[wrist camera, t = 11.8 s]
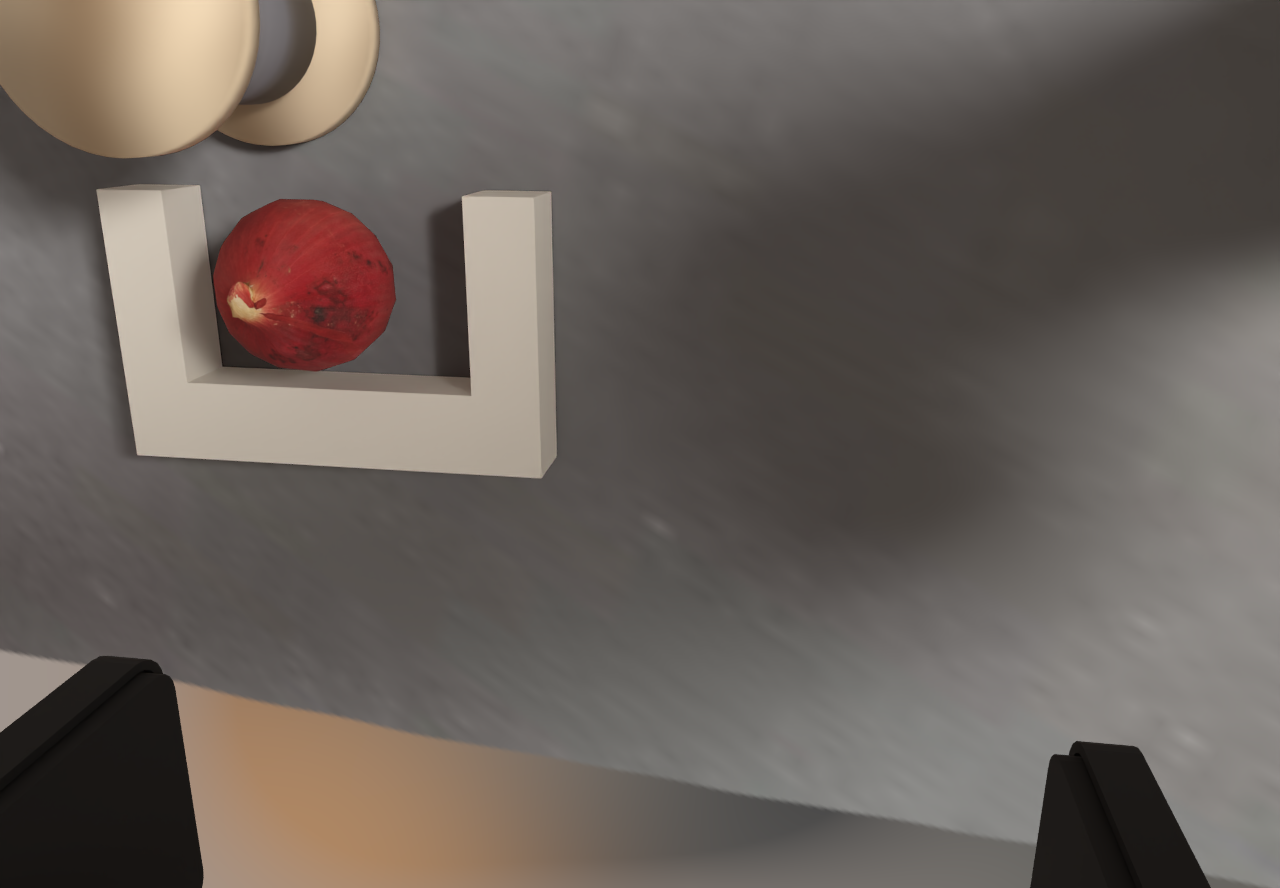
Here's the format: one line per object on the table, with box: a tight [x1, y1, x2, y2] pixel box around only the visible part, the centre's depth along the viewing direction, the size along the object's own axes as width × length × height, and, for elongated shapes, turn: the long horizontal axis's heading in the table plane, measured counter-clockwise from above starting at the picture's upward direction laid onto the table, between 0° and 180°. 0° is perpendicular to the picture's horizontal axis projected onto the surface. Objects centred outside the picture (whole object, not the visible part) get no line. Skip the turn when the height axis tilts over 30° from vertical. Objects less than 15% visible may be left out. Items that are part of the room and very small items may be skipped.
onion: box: [213, 199, 396, 372], centre depth 36 cm, size 6×6×8 cm
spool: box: [0, 0, 380, 158], centre depth 32 cm, size 8×8×10 cm
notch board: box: [96, 184, 557, 478], centre depth 39 cm, size 16×10×2 cm, turn 90°
